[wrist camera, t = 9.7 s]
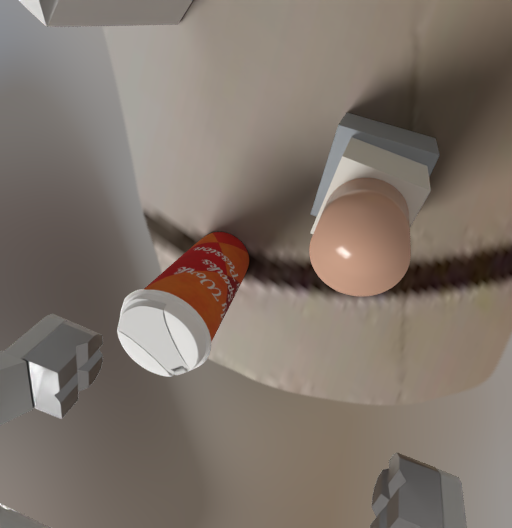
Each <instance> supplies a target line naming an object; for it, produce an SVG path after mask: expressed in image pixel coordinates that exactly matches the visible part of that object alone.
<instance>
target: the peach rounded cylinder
mask: <svg viewBox="0 0 512 528" xmlns="http://www.w3.org/2000/svg"><path fill="white" fill-rule="evenodd" d="M309 252H310V260H311V263H312V266H313V268H314V270H315V272H316V273H317V275H318V276H319V277H320V278H321V280H322V281H323V282H325V283H326V284H327V285H328V286H330V287H331V288H333V289H335V290H337V291H339V292H341V293H344V294H348V295H353V296H371V295H376V294H380V293H382V292H385V291H387V290H389V289H390V288H392V287H393V286H395V285H396V284H397V283H398V282H399V281H400V280H401V279H402V277H403V276H404V275H405V273H406V271H407V269H408V266H409V263H410V256H411V249H410V220H409V209H408V205H407V203H406V200H405V198H404V197H403V195H402V194H401V193H400V192H399V191H398V190H397V189H396V188H395V187H394V186H392V185H391V184H389V183H387V182H385V181H383V180H380V179H376V178H357V179H353V180H350V181H348V182H345V183H344V184H342V185H340V186H339V187H338V188H337V189H336V190H335V191H334V192H333V193H332V194H331V195H330V197H329V198H328V200H327V202H326V205H325V207H324V210H323V212H322V214H321V217H320V219H319V222H318V224H317V226H316V229H315V231H314V234H313V236H312V239H311V242H310V249H309Z"/></svg>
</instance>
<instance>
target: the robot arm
mask: <svg viewBox="0 0 512 528" xmlns="http://www.w3.org/2000/svg"><path fill="white" fill-rule="evenodd" d="M102 344H103V337H102V335H101V334H98V333H96V332H93V331H91V330H89V329H87V328H85V327H82V326H80V325H78V324H75V323H73V322H71V321H68V320H66V319H64V318H61V317H59V316H56V315H54V314H51V315H48V316H46V317H45V318H43V319H42V320H41V321H40V322H39V323H37V324H36V325H35V326H34V327H33V328H31V329H30V330H29V331H28V332H26V333H25V334H24V335H23V336H22V337H20V338H19V339H18V340H17V341H16V342H14V343H13V344H12V345H11V346H10V347H8V348H7V349H6V350H5V351H1V350H0V426H1V425H3V424H5V423H7V422H9V421H11V420H12V419H15V418H17V417H19V416H21V415H23V414H25V413H27V412H29V411H31V410H33V408H36V409H38V410H41V411H43V412H45V413H48V414H50V415H53V416H55V417H58V418H60V419H62V418H63V417H64V416H65V415H66V413H67V412H68V411H69V410H70V409H71V408H72V406H73V405H74V404H75V403H76V402H77V401H78V391H81V390H83V389H86V388H88V387H89V386H90V385H91V384H92V383H93V382H94V380H95V379H96V377H97V375H98V373H99V372H100V370H101V366H102V362H103V355H102V353H101V352H100V350H99V348H100V347H101V346H102ZM372 509H373V511H374V513H375V515H376V518H375V520H374V521H373V522H372V524H371V525H370V528H467V525H466V516H465V508H464V500H463V491H462V483H461V481H460V479H459V477H457V476H454V475H452V474H449V473H447V472H444V471H442V470H439V469H436V468H435V467H433V466H430V465H428V464H425V463H422V462H420V461H417V460H415V459H412V458H410V457H407V456H404V455H402V454H399V453H395V454H393V456H392V457H391V459H390V460H389V468H388V469H384V470H382V472H381V473H380V475H379V477H378V479H377V481H376V484H375V487H374V492H373V497H372ZM0 528H51V527H49V526H47V525H45V524H43V523H41V522H39V521H37V520H34V519H32V518H30V517H28V516H26V515H24V514H22V513H19V512H18V511H16V510H14V509H12V508H9V507H7V506H5V505H3V504H1V503H0Z"/></svg>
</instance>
